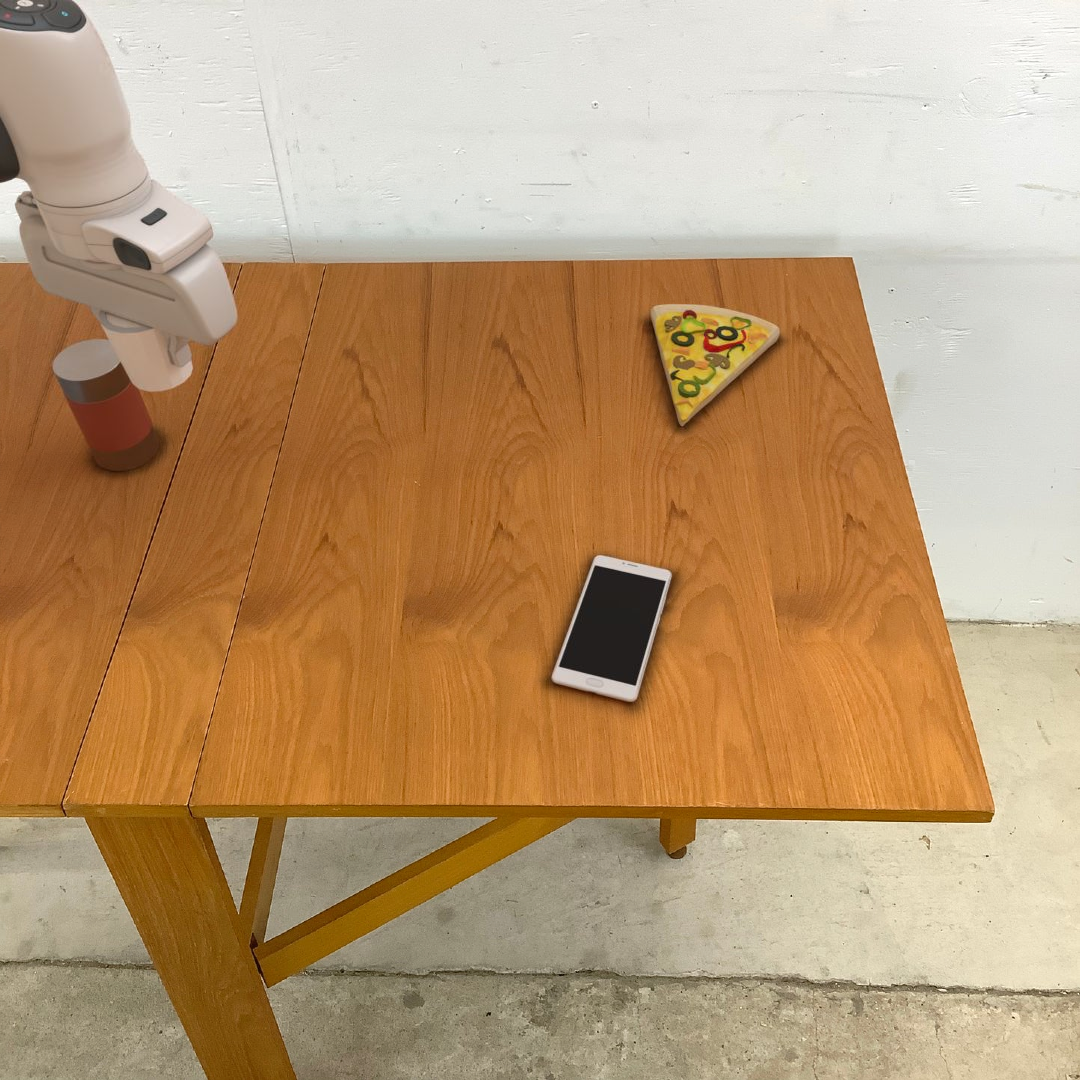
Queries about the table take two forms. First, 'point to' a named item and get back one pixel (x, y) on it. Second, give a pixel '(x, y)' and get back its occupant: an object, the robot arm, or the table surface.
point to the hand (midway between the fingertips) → (154, 353)
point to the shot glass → (143, 353)
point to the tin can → (106, 405)
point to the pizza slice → (706, 350)
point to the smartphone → (613, 628)
